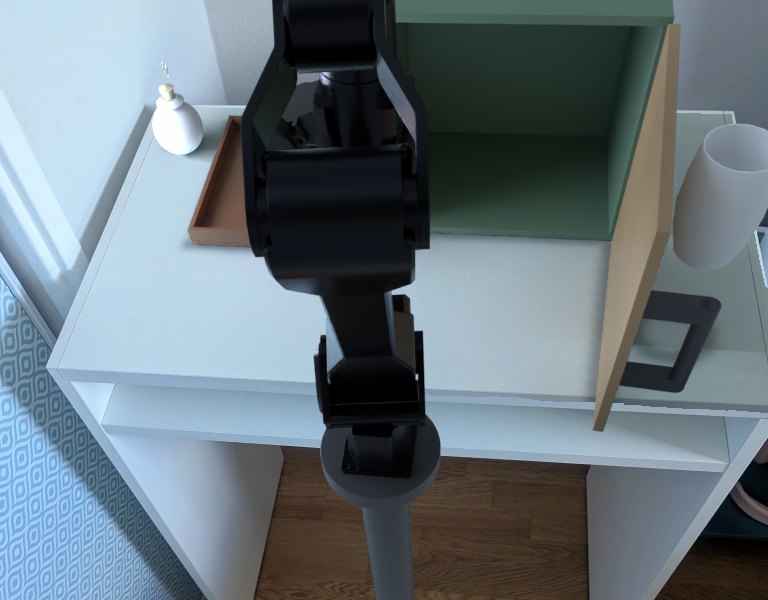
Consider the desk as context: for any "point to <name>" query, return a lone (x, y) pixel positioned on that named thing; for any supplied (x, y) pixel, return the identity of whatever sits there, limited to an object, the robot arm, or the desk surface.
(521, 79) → the cupboard
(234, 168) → the tray
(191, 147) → the ornament
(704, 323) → the cupboard door
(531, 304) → the desk surface
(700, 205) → the cup
